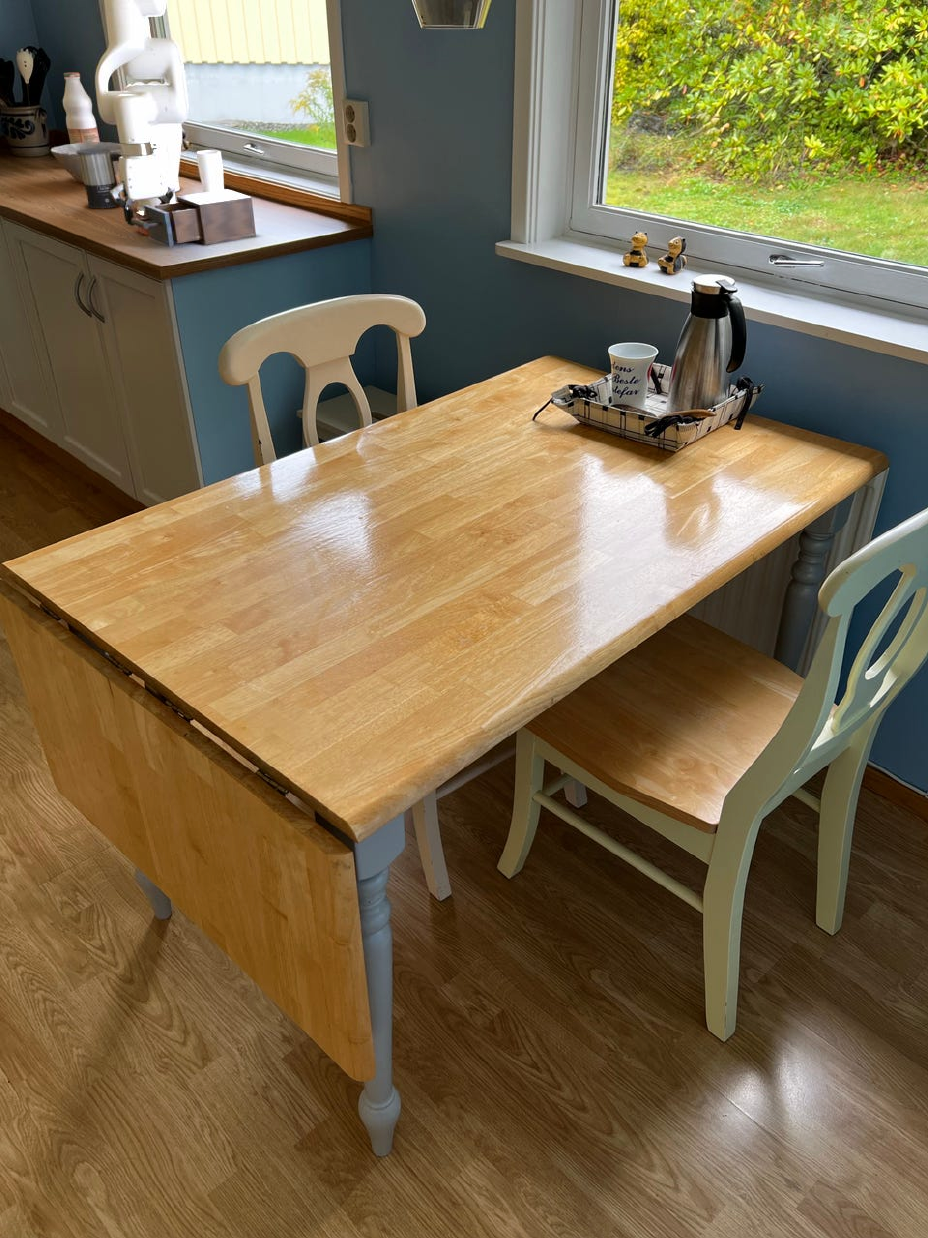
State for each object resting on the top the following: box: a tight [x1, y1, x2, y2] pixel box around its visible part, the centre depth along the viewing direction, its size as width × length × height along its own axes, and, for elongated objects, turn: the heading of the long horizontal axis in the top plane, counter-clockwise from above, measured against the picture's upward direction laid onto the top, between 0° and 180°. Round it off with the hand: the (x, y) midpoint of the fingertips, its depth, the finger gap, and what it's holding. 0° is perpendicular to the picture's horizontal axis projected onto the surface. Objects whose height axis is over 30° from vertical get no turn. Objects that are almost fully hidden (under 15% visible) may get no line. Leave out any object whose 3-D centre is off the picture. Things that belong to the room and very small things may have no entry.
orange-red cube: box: [134, 211, 149, 236], centre depth 254 cm, size 5×5×5 cm
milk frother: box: [76, 148, 122, 210], centre depth 280 cm, size 14×16×15 cm
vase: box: [127, 81, 183, 193], centre depth 292 cm, size 15×15×29 cm
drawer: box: [131, 201, 203, 248], centre depth 243 cm, size 18×11×8 cm, turn 130°
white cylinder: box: [196, 149, 225, 193], centre depth 274 cm, size 7×7×15 cm
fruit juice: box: [62, 71, 100, 144], centre depth 324 cm, size 9×9×28 cm
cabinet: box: [176, 189, 257, 246], centre depth 250 cm, size 15×13×10 cm
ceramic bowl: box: [50, 141, 122, 183], centre depth 307 cm, size 22×23×10 cm
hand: (148, 222), depth 253 cm, fingers open, 9 cm apart
